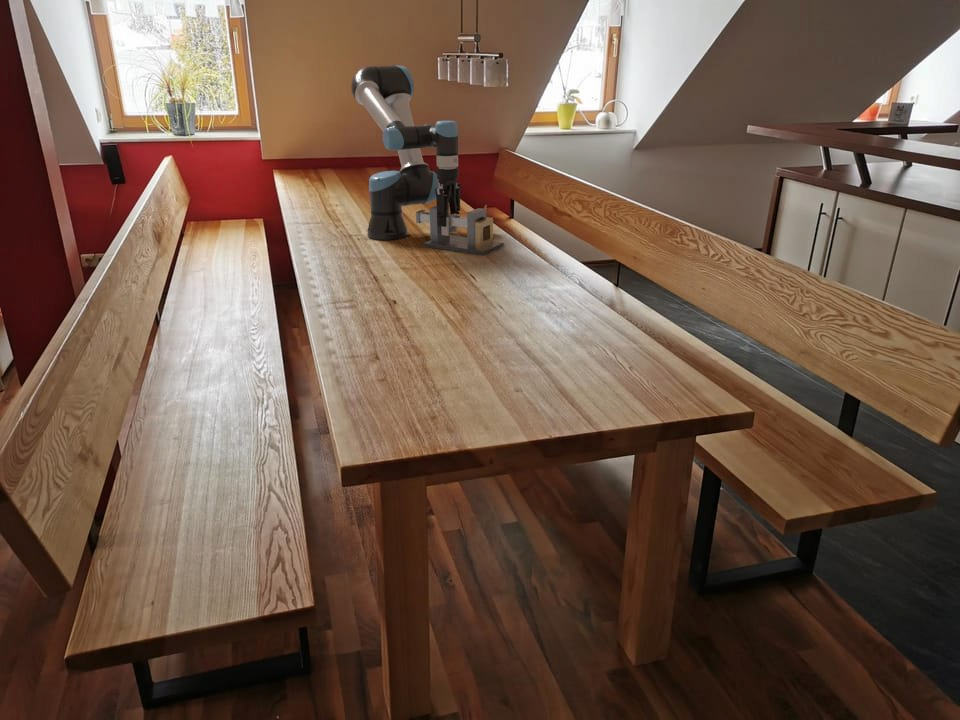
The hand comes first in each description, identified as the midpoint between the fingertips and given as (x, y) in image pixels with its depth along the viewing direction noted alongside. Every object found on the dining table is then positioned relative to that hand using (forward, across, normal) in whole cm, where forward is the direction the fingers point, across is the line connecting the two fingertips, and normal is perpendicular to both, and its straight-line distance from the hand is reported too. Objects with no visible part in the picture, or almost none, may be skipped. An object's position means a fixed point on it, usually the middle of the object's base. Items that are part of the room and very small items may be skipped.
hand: (449, 233), depth 271 cm
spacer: (-2, 0, -14) cm, 15 cm away
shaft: (-3, 0, +1) cm, 3 cm away
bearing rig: (+4, 0, -6) cm, 7 cm away
